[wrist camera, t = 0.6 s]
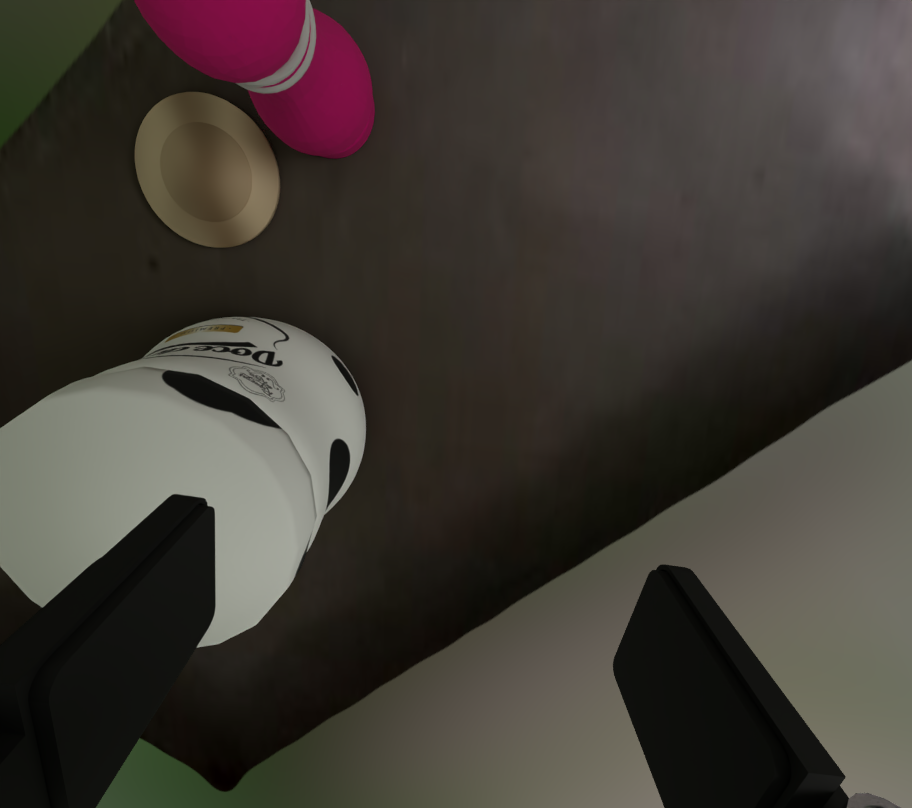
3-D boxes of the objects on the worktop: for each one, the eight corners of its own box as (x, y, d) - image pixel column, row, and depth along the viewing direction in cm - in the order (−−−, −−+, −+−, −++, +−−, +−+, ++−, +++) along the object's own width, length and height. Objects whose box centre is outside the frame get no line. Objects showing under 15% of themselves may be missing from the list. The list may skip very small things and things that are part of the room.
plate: (238, 71, 30) (234, 67, 29) (303, 221, 33) (300, 220, 32) (112, 125, 31) (104, 123, 30) (186, 265, 34) (181, 266, 33)
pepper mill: (258, 116, 31) (-41, -86, 12) (315, 18, 29) (67, -401, 10) (343, 188, 32) (197, 110, 14) (402, 101, 31) (328, -129, 12)
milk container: (256, 262, 34) (66, 278, 17) (414, 410, 39) (387, 539, 22) (133, 406, 38) (-119, 535, 21) (290, 526, 42) (185, 711, 26)
